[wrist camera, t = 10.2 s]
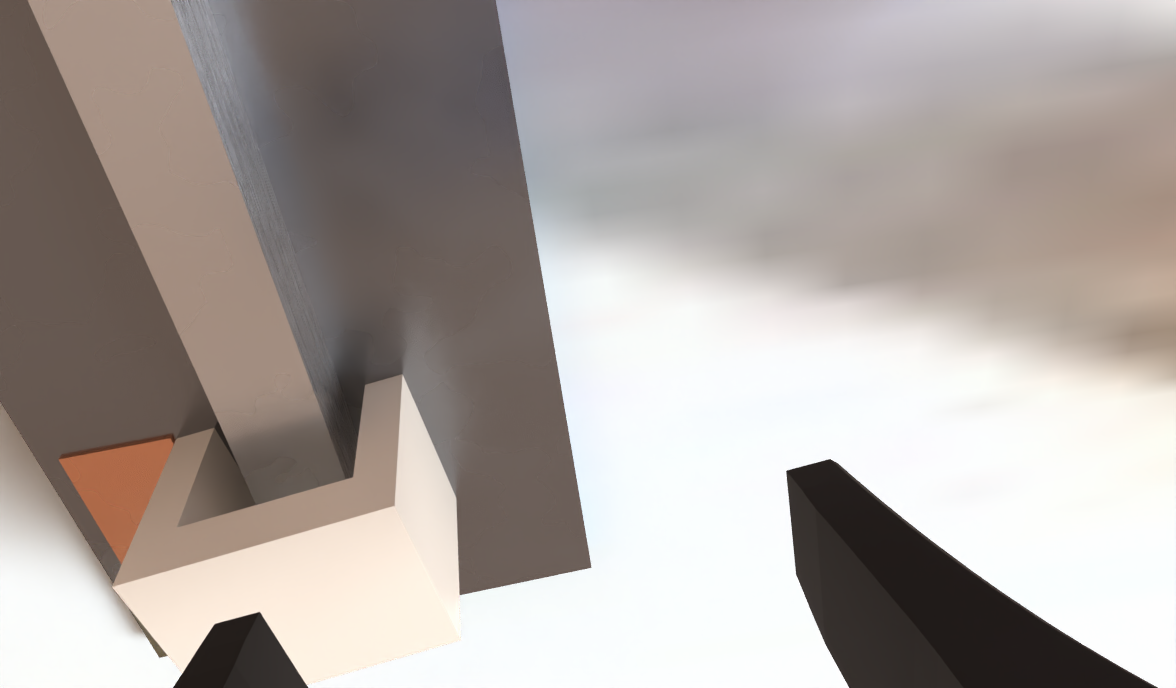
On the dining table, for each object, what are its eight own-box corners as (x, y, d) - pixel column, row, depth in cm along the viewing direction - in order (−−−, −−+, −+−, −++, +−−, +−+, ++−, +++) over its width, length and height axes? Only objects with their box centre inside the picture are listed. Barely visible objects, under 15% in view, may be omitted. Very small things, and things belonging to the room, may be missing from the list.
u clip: (402, 374, 19) (394, 506, 15) (456, 497, 21) (461, 639, 17) (176, 438, 19) (112, 587, 15) (253, 555, 21) (213, 712, 17)
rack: (463, -183, 14) (468, -188, 12) (586, 547, 24) (604, 624, 22) (-260, -81, 14) (-407, -65, 11) (167, 633, 23) (137, 723, 21)
